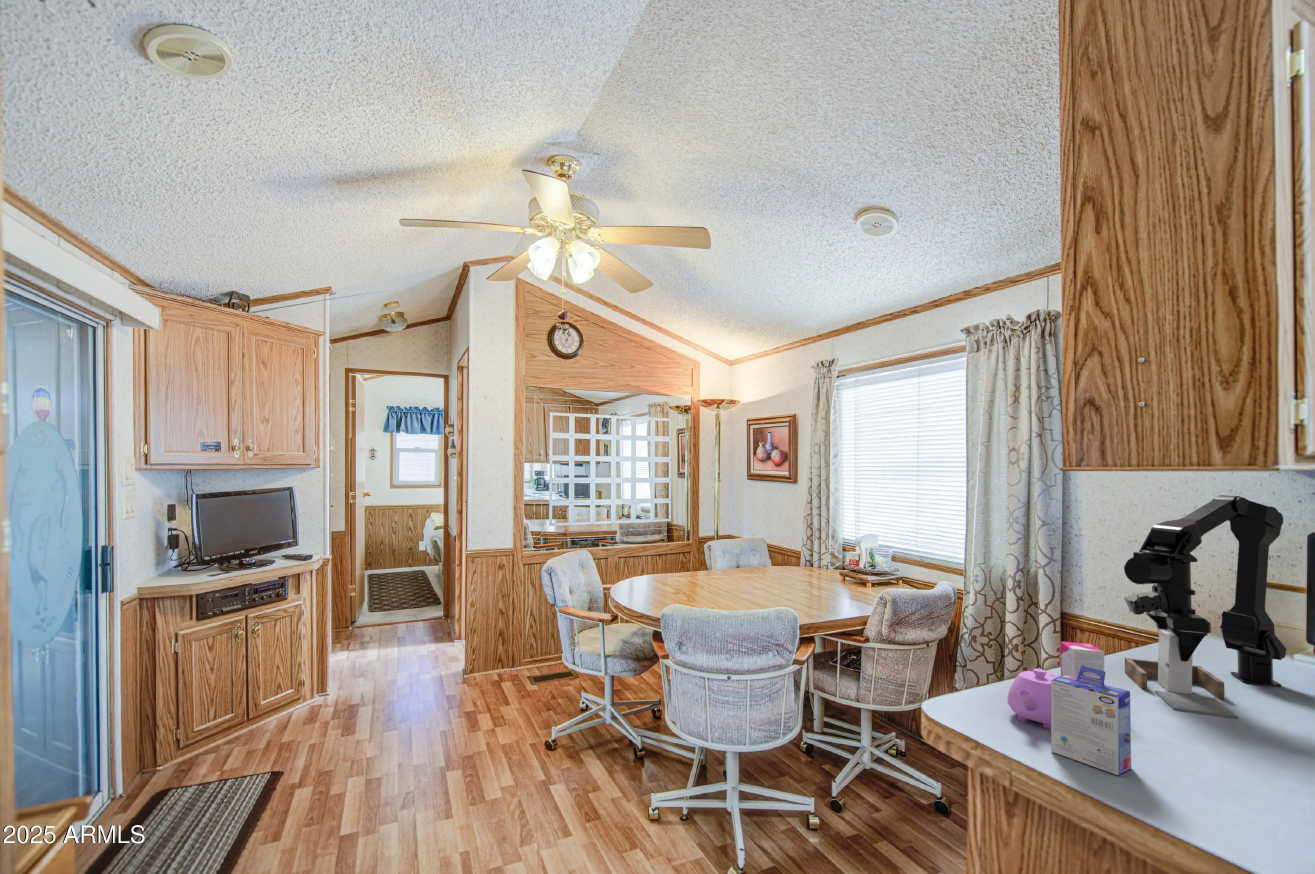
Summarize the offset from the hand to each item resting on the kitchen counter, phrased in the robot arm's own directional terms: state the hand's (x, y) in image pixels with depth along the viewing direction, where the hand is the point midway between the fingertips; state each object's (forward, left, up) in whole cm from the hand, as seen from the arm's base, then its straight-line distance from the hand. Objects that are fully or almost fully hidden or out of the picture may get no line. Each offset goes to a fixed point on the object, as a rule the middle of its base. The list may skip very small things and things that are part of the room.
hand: (1175, 654), depth 132 cm
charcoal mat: (+10, 0, -7) cm, 12 cm away
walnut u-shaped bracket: (-2, 0, -7) cm, 8 cm away
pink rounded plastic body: (+32, -31, -8) cm, 45 cm away
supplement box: (+18, -21, -8) cm, 29 cm away
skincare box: (0, 0, -8) cm, 8 cm away
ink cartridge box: (+46, -26, -8) cm, 53 cm away
